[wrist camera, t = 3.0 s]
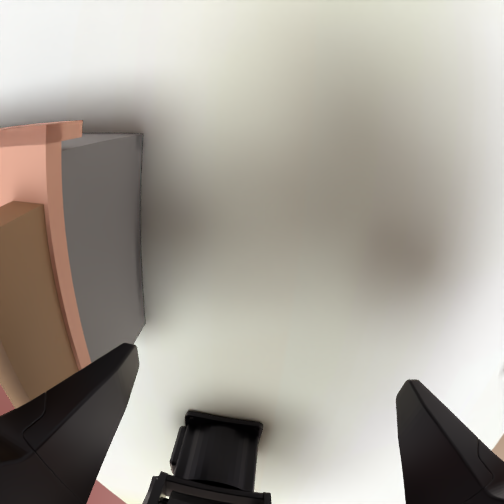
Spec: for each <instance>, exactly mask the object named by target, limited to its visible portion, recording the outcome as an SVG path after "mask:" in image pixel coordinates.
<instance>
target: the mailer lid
mask: <svg viewBox="0 0 504 504" xmlns="http://www.w3.org/2000/svg"><path fill="white" fill-rule="evenodd" d="M82 124H83V120H76V121H60V122H48V123H37V124H28V125H19V126H12V127H5V128H0V384H1V386H2V387H3V389H4V391H5V393H6V394H7V396H8V398H9V399H10V401H11V402H12V404H13V406H14V407H15V409H16V408H18V407H20V406H22V405H24V404H26V403H27V402H29V401H31V400H33V399H34V398H36V397H38V396H39V395H41V394H42V393H44V392H45V393H46V391H47V390H49V389H51V388H52V387H54V386H55V385H57V384H59V383H60V382H62V381H63V380H65V379H67V378H68V377H70V376H71V375H73V374H75V373H76V372H78V371H79V370H81V369H83V368H84V367H86V366H87V365H89V364H91V360H90V356H89V353H88V349H87V345H86V341H85V338H84V334H83V330H82V325H81V321H80V317H79V312H78V307H77V303H76V298H75V292H74V287H73V281H72V276H71V269H70V263H69V256H68V249H67V241H66V232H65V222H64V210H63V195H62V170H61V141H65V140H69V139H74V138H80V137H82Z"/></svg>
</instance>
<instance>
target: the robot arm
mask: <svg viewBox="0 0 504 504" xmlns="http://www.w3.org/2000/svg"><path fill="white" fill-rule="evenodd" d="M138 369H139V358H138V351H137V347H136V345H134V344H130V343H122V344H121V345H119V346H118V347H116V348H114V349H113V350H111V351H110V352H108V353H106V354H105V355H103V356H102V357H100V358H99V359H97V360H95V361H94V362H92V363H91V364H89V365H87V366H86V367H84V368H83V369H81V370H79V371H78V372H76V373H75V374H73V375H71V376H70V377H68V378H67V379H65V380H63V381H62V382H60V383H59V384H57V385H55V386H54V387H52V388H51V389H49V390H47V391H46V393H45V392H44V393H42V394H41V395H39V396H38V397H36V398H34V399H33V400H31V401H29V402H27V403H26V404H24V405H22V406H20V407H18V408H16V409H14V410H12V411H10V412H8V413H6V414H3V415H1V416H0V504H86V503H87V501H88V498H89V495H90V493H91V490H92V488H93V485H94V483H95V480H96V478H97V475H98V473H99V470H100V468H101V466H102V463H103V461H104V458H105V456H106V454H107V451H108V449H109V446H110V444H111V442H112V439H113V437H114V435H115V432H116V430H117V428H118V426H119V423H120V421H121V419H122V416H123V414H124V412H125V409H126V407H127V404H128V401H129V398H130V395H131V391H132V388H133V385H134V382H135V378H136V375H137V372H138ZM396 410H397V428H398V441H399V448H400V455H401V462H402V471H403V479H404V489H405V500H406V504H504V462H503V461H502V460H501V459H500V458H499V457H498V456H497V455H495V454H494V453H493V452H492V451H491V450H490V449H489V448H488V447H487V446H486V445H485V444H484V443H483V442H482V441H481V440H480V439H478V437H477V436H476V435H475V434H474V433H472V432H471V431H470V430H469V429H468V428H467V427H466V426H465V425H464V424H463V423H462V422H461V421H460V420H459V419H458V418H457V417H456V416H455V415H454V414H453V413H452V412H451V411H450V410H449V409H448V408H447V407H446V406H445V405H444V404H443V403H442V402H441V401H440V400H439V399H438V398H437V397H436V396H434V395H433V394H432V393H431V392H430V391H429V390H428V389H427V388H426V387H425V386H424V385H423V384H422V383H421V382H420V381H419V380H407V381H406V382H405V383H404V385H403V386H402V388H401V390H400V391H399V393H398V394H397V397H396ZM185 423H186V426H181V427H180V428H179V432H178V435H177V439H176V442H175V445H174V449H173V452H172V456H171V459H170V466H171V470H172V473H173V474H174V475H173V476H172V475H168V473H165V472H162V471H161V473H160V475H159V476H153V477H152V481H151V484H150V487H149V490H148V493H147V495H146V497H145V499H144V501H143V503H142V504H271V493H266V492H263V493H258V492H254V484H255V474H256V463H257V452H258V443H259V440H260V437H261V434H262V430H263V425H262V424H261V423H258V422H251V421H244V420H237V419H230V418H224V417H218V416H212V415H207V414H201V413H196V412H191V411H189V412H187V413H186V416H185ZM166 496H169V499H167V498H165V497H166Z"/></svg>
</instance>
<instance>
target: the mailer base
mask: <svg viewBox="0 0 504 504" xmlns="http://www.w3.org/2000/svg"><path fill="white" fill-rule="evenodd" d="M142 144H143V134H138V133H82V137H80V138H74V139H69V140H65V141H61V170H62V195H63V210H64V222H65V232H66V241H67V249H68V256H69V263H70V269H71V276H72V281H73V287H74V292H75V298H76V303H77V307H78V312H79V317H80V321H81V325H82V330H83V334H84V338H85V341H86V345H87V349H88V353H89V356H90V360H91V363H92V362H94V361H95V360H97V359H99V358H100V357H102V356H103V355H105V354H106V353H108V352H110V351H111V350H113V349H114V348H116V347H118V346H119V345H121V344H122V343H130V344H134V342H135V340H136V339H137V337H138V335H139V334H140V332H141V330H142V328H143V327H144V325H145V313H144V300H143V285H142V265H141V229H140V199H141V163H142Z"/></svg>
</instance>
